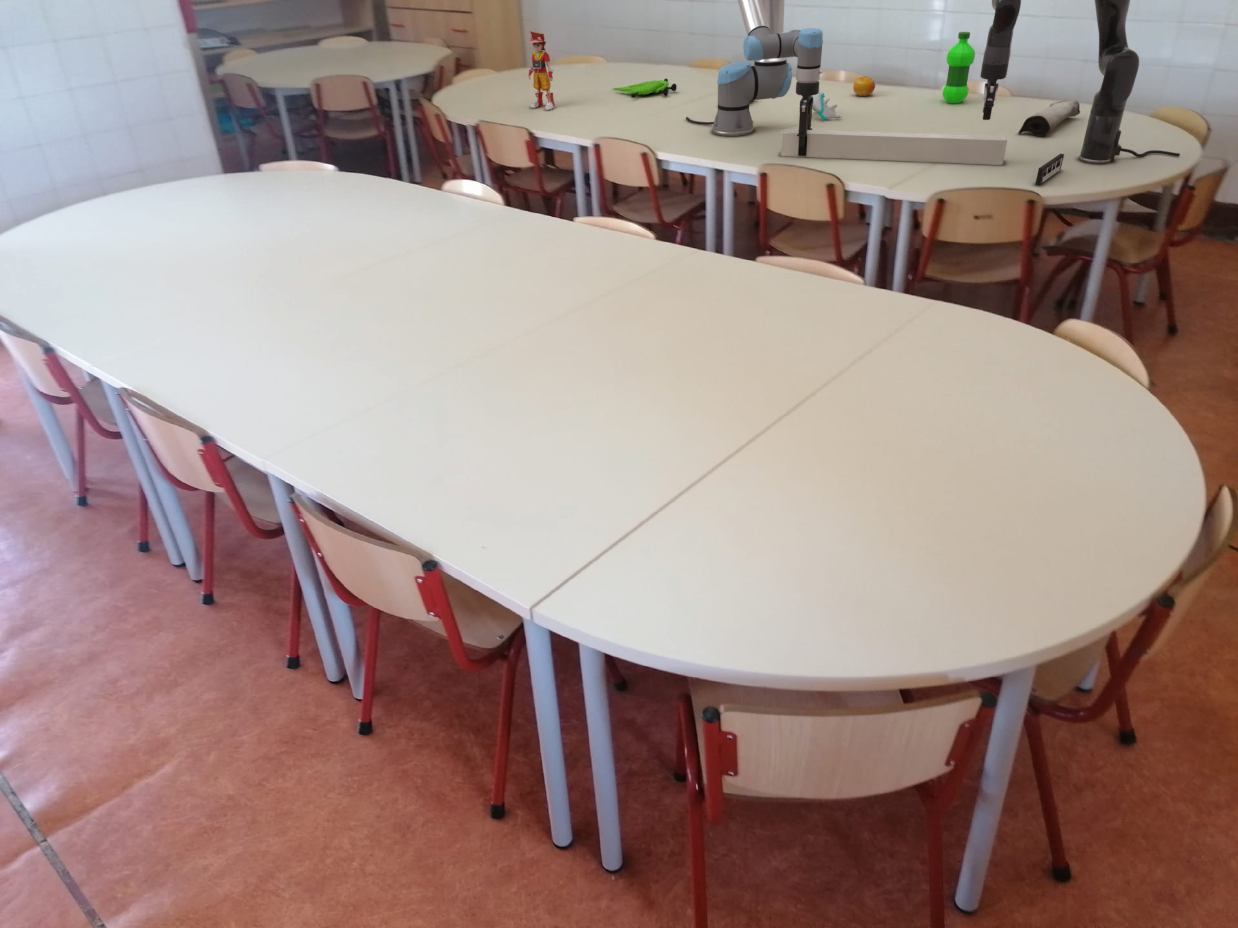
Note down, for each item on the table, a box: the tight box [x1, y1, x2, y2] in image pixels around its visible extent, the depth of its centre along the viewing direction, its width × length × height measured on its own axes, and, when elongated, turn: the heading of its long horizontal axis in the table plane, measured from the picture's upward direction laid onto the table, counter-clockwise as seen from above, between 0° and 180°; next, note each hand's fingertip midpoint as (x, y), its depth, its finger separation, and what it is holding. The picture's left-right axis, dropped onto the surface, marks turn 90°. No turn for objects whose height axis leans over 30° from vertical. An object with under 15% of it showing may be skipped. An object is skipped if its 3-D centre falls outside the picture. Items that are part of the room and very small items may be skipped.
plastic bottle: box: [942, 31, 976, 104], centre depth 348 cm, size 10×10×25 cm
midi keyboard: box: [1035, 153, 1065, 186], centre depth 273 cm, size 18×1×5 cm, turn 138°
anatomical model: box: [812, 89, 842, 121], centre depth 345 cm, size 15×10×10 cm
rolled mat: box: [1018, 99, 1081, 137], centre depth 319 cm, size 30×9×10 cm
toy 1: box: [527, 31, 556, 111], centre depth 374 cm, size 12×9×30 cm
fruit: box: [852, 76, 876, 97], centre depth 369 cm, size 8×8×8 cm
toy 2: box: [612, 78, 677, 99], centre depth 396 cm, size 28×5×30 cm
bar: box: [780, 128, 1008, 166], centre depth 297 cm, size 71×5×8 cm, turn 71°
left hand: (803, 153), depth 307 cm, fingers closed on bar, 5 cm apart
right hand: (986, 116), depth 283 cm, fingers open, 8 cm apart
